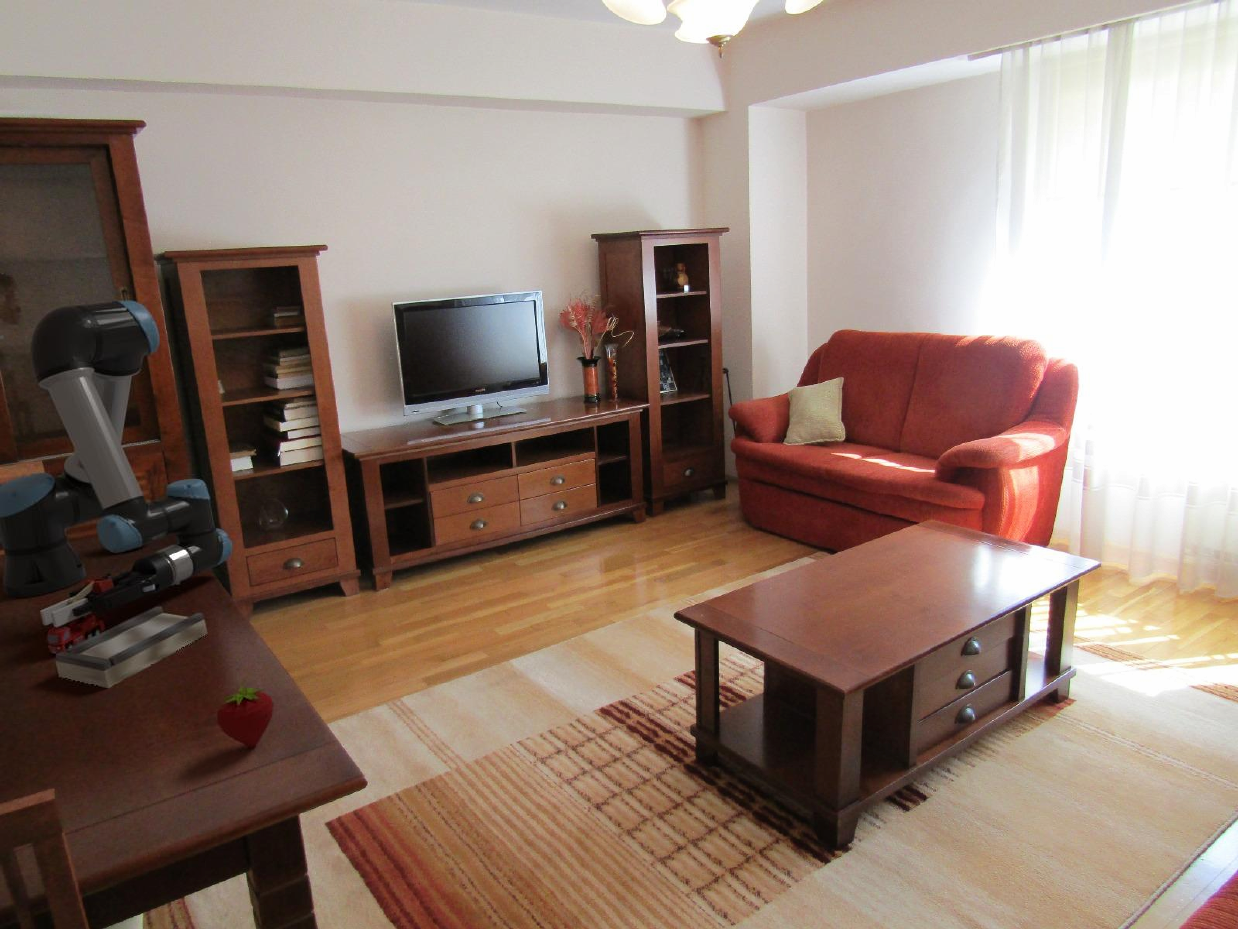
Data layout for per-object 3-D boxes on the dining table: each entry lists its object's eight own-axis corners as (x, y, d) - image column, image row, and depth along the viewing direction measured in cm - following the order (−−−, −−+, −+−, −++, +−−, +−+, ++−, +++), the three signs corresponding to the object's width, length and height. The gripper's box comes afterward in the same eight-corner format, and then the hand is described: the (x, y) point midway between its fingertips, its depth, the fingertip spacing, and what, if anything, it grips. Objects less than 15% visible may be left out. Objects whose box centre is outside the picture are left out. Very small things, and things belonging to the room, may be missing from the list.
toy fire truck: (47, 655, 156) (35, 605, 153) (107, 621, 168) (97, 575, 166) (62, 656, 155) (51, 606, 152) (121, 622, 168) (112, 576, 165)
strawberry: (217, 748, 123) (204, 684, 120) (271, 727, 128) (260, 665, 125) (231, 766, 119) (218, 700, 116) (286, 743, 123) (274, 679, 121)
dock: (160, 626, 165) (156, 606, 164) (207, 634, 160) (203, 613, 159) (59, 677, 147) (53, 655, 146) (108, 688, 142) (103, 665, 141)
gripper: (192, 591, 174) (82, 643, 153) (138, 583, 180) (25, 633, 159) (185, 555, 172) (72, 604, 151) (131, 549, 178) (15, 595, 157)
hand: (48, 619), depth 155 cm, fingers closed on toy fire truck, 2 cm apart
